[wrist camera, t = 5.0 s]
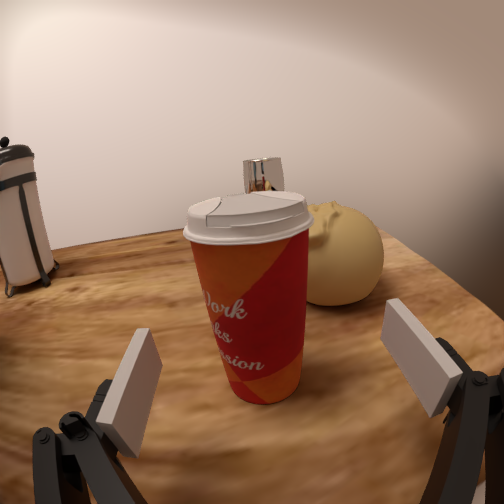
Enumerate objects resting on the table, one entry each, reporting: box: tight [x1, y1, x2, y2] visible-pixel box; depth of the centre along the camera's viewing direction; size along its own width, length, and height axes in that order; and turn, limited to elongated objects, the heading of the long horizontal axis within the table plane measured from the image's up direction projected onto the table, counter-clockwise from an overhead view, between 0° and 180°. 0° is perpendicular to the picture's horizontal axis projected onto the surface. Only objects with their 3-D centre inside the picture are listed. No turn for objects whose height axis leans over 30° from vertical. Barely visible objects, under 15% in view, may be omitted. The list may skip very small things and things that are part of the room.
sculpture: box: [307, 201, 384, 306], centre depth 31 cm, size 12×12×11 cm
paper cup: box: [183, 191, 314, 404], centre depth 19 cm, size 8×8×14 cm
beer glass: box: [243, 158, 284, 194], centre depth 50 cm, size 7×7×15 cm
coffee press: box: [0, 137, 59, 297], centre depth 40 cm, size 17×16×30 cm
